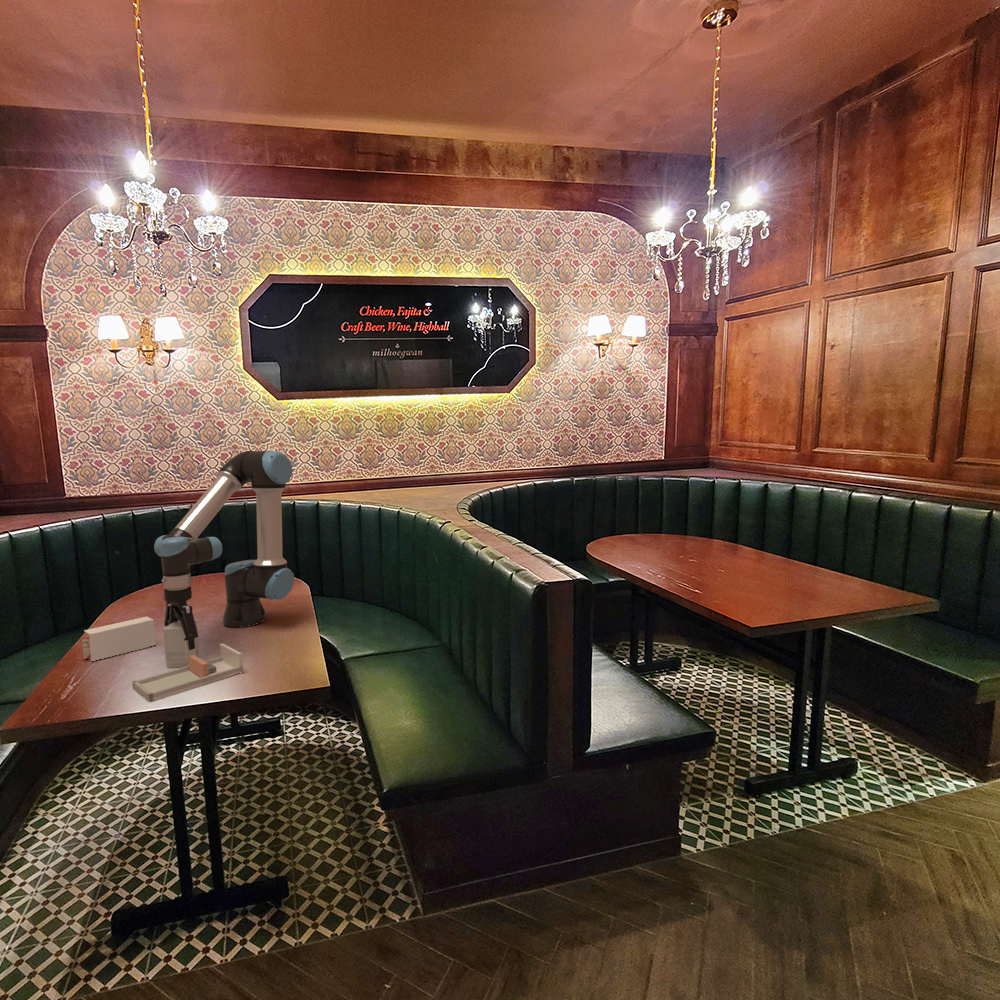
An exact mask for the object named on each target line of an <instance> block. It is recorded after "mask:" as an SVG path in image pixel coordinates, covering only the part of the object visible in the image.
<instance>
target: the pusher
mask: <svg viewBox="0 0 1000 1000" xmlns="http://www.w3.org/2000/svg"><path fill="white" fill-rule="evenodd" d="M205 661H206V660H204V659H202V658H198V657H197V656H195V655H191V656H189V670H190V671H192V672H193V673H195V674H196V675H198V676H200V677H201V678H202V677H205V676H208V675H209V673H211V672H214V671H216V667H215V666H214V665H212V664H208V663H207V662H205Z"/></svg>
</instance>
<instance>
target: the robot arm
mask: <svg viewBox="0 0 1000 1000" xmlns="http://www.w3.org/2000/svg"><path fill="white" fill-rule="evenodd" d="M292 476H293V465H292V462H291V459H290V458H288V456H287V455H286V454H285V453H283V452H281V451H276V450H246V451H242V452H239V453H238V454H236V455H235V456H233V457H232V458H231V459H229V460H228V461H226V463H225V464H224V465H223V466H222V467H221V468H220V469H219V470H218V472H217V473H216V478H215V479H214V481H213V482H212V483H211V485H210V486H208V488H207V489H206V490H205V491H204V493H203V494H202V495H201V496H200V497H199V498H198V500H197V501H196V502H195V503H194V504H193V506H192V507H191V508H190V510H188V512H187V513H186V514H185V515H184V516H183V518H182V519H181V520H180V521H179V522H178V523H177V525H176V526H175V527H174V528H173V529H172V531H171V532H170V533H169V534H165V535H161V536H159V537H157V538H156V540H155V542H154V545H153V550H154V552H155V554H156V555H157V556H158V557H160V558H161V559H160V560H161V569H162V579H161V582H162V583H163V588H164V590H163V593H164V594H163V595H164V602H166V603H165V605H166V607H165V615H164V624H163V625H164V627H167V626H168V625H170V624H171V623H173V622H180V623H181V625H182V628H183V631H184V634H185V637H186V638H184V641H185V651H186V660H189V656H191V655H195V656H196V646H195V638H197V637H198V638H199V634H198V633H197V632H198V628H197V629H196V625H195V621H196V620H195V617H194V613H193V607H192V605H188V603H187V602H188V601H189V600H191V599H192V598H193V593H192V591H193V590H192V587H191V585H192V579H191V566H193V565H197V564H202V563H205V562H211V561H214V560H216V559H218V558H219V557H221V555H222V553H223V544H222V542H221V541H220V539H219V538H218V537H216V536H205V537H203V538H202V537H199V536H200V535H201V534H202V533H203V531H205V529H206V528H207V527H208V525H209V524H210V522H211V521H212V520H213V519H214V518H215V517H216V515H217V514H218V513H219V511H220V510H221V509H222V508H223V506H224V505H225V504H226V503H227V502H228V501H229V499H230V497H232V496H233V494H234V493H235V491H240V490H241V489H242V487H243V486H245V485H246V484H248V483H249V484H250V483H251V489H252V490H253V491H254V492H255V494H256V496H255V497H256V500H255V501H256V543H257V544H256V545H257V546H256V547H257V551H256V552H257V558H256V559H247V560H241V561H236V562H232V563H231V562H230V563H229V564H227V565H226V566H225V568H224V583H225V594H226V606H225V609H224V613H223V616H222V624H224V625H226V626H225V627H227V626H231V627H230V628H233V627H239V628H241V627H240V626H248V625H253V624H256V623H259V622H261V621H263V620H265V619H266V620H267V613H266V610H265V608H264V606H263V603H262V601H261V599H266V600H271V601H272V600H282V599H285V598H286V597H287V596H288V595H289V594H290V592H291V591H292V589H293V587H294V584H295V574H294V572H292V569H290V568H288V561H287V560H286V559H285V558H284V557H283V520H282V519H283V516H282V515H283V514H282V513H283V511H282V505H283V504H282V493H283V492H284V491H285V489H286V484H287V483H289V482H290V480H291V478H292ZM198 537H199V538H198ZM266 620H265V621H266ZM224 625H223V626H224ZM253 626H254V625H253ZM248 627H249V626H248ZM191 634H192V635H191Z"/></svg>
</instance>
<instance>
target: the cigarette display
mask: <svg viewBox="0 0 1000 1000" xmlns="http://www.w3.org/2000/svg"><path fill="white" fill-rule="evenodd" d="M83 631H84V633H86V634H87V635H88V637H83V638H82V639H81V641H82V653H83V659H88V660H89V659H91V660H92V661H94V662H96V661H95V660H98V661H100V660H99V659H102V660H105V659H104V658H106V659H109V658H108V657H110V658H113V657H112V656H114V657H116V656H115V655H117V656H120V655H119V654H121V655H124V654H123V653H125V654H128V653H127V652H129V653H132V652H131V651H133V652H136V651H135V650H137V651H139V649H141V650H143V649H142V648H145V649H147V648H146V647H148V648H151V647H150V646H152V647H155V646H154V645H156V646H157V641H156V630H155V619H153V618H151V617H149V616H143V617H138V618H133V619H130V620H124V621H119V622H116V623H115V622H114V623H113V624H107V625H103V626H98V627H93V628H88V629H84V630H83Z"/></svg>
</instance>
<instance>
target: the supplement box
mask: <svg viewBox="0 0 1000 1000" xmlns="http://www.w3.org/2000/svg"><path fill="white" fill-rule="evenodd" d="M194 621H195V625H196V629H197V630H198V623H197V622H198V621H196V620H194ZM162 633H163V642H164V654H165V663H166V668H167V669H169V668H170V669H171V668H173V667H174V668H182V667H185V666H189V660H186V651H185V641H184V638H186V637H185V634H184V631H183V628H182V625H181V623H180V621H178V622H173V623H171V624H170V625H168V626H165V627H164V628H162ZM197 633H198V631H197ZM191 635H192V634H191ZM199 644H200V643H199V636H198V637H197V638H195V646H196V656H197V657H198V658H200V657H201V656H200V645H199ZM200 659H201V658H200Z"/></svg>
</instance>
